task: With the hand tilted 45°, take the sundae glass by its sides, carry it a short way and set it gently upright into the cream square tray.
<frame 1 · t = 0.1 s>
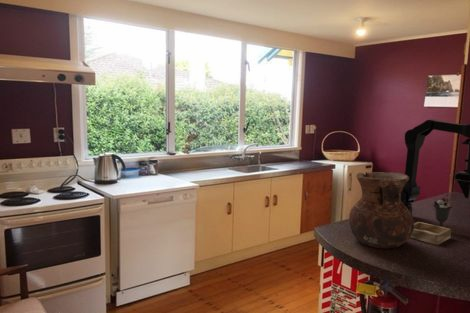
sundae: (440, 231, 146), on the countertop
cream square tray: (427, 237, 138), on the countertop
jug: (378, 242, 132), on the countertop
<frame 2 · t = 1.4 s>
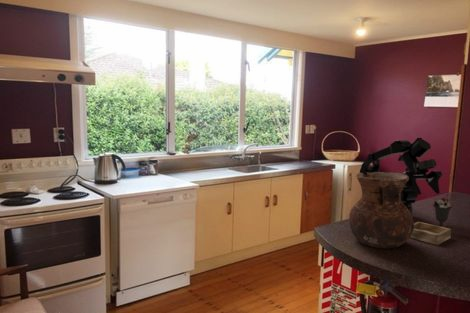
hand: (429, 194, 152), 13 cm above the countertop, tool tilted 45°, fingers open, 9 cm apart
nothing on the countertop moved.
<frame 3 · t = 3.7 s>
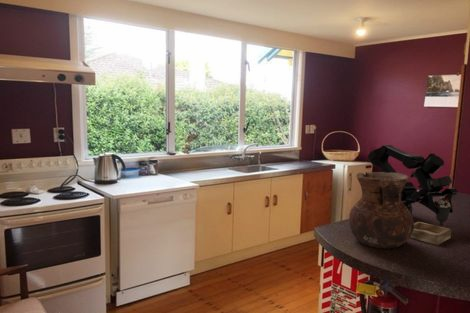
hand: (444, 213, 144), 8 cm above the countertop, tool tilted 45°, fingers closed on sundae, 6 cm apart
sundae: (440, 231, 146), on the countertop, touching gripper
everything else where it was.
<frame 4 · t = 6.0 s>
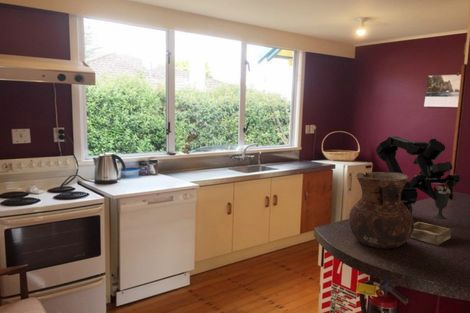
hand: (443, 199, 140), 14 cm above the countertop, tool tilted 45°, fingers closed on sundae, 6 cm apart
sundae: (439, 218, 143), point 6 cm above the countertop, touching gripper
everything else where it was.
when the fingers open (10 cm above the countertop, at t = 8.0 s): sundae drops 1 cm, resting on cream square tray.
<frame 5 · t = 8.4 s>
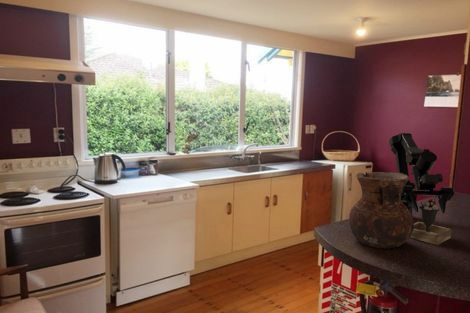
hand: (430, 212, 136), 10 cm above the countertop, tool tilted 45°, fingers open, 9 cm apart
sundae: (427, 234, 138), point 1 cm above the countertop, touching cream square tray
everything else where it was.
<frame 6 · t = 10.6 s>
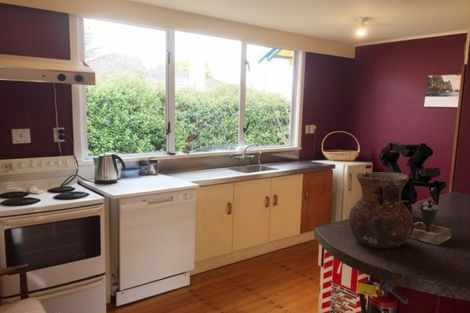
hand: (426, 203, 145), 11 cm above the countertop, tool tilted 40°, fingers open, 9 cm apart
nothing on the countertop moved.
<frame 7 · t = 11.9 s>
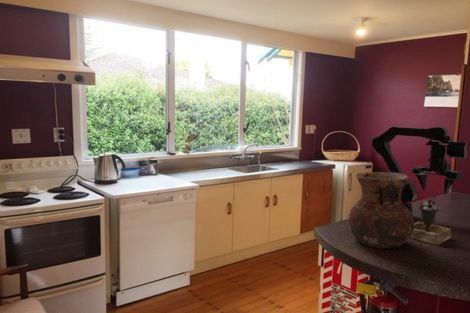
hand: (434, 192, 157), 13 cm above the countertop, tool pointing down, fingers open, 9 cm apart
nothing on the countertop moved.
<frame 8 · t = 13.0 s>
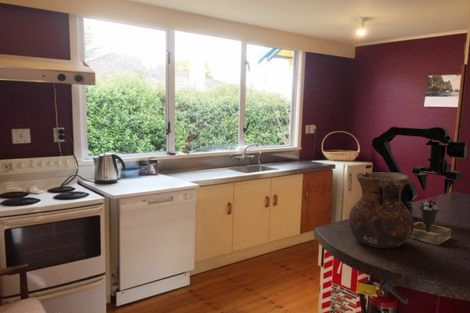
hand: (434, 192, 157), 13 cm above the countertop, tool pointing down, fingers open, 9 cm apart
nothing on the countertop moved.
at the end: sundae 0.2 cm off-centre on the cream square tray, point 0.8 cm above the cream square tray's base; sundae tilted 0°; the gripper is holding nothing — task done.
